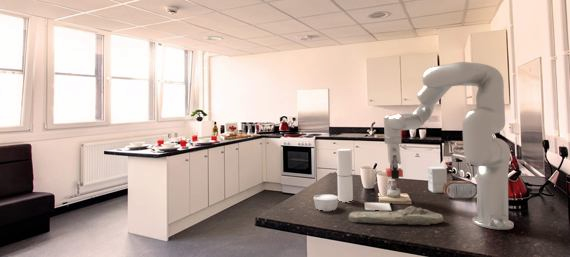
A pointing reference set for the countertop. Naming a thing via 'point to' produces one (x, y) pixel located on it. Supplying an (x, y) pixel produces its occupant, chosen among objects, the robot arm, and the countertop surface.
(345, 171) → the cylindrical container
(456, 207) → the countertop surface
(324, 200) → the ramekin
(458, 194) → the tin
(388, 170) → the red white square box
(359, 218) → the elongated rock
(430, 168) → the supplement box
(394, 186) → the stand
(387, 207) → the pad
